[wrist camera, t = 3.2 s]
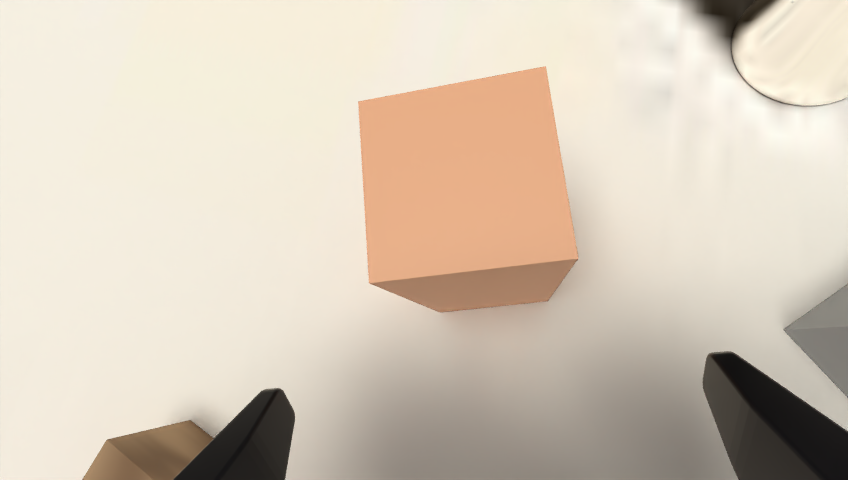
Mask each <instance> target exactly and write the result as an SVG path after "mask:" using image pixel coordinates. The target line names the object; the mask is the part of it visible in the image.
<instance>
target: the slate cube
mask: <svg viewBox="0 0 848 480" xmlns="http://www.w3.org/2000/svg"><path fill="white" fill-rule="evenodd" d="M784 331H785V332H786V333H787V334H788V335H789V336H790V337H791V338H792V339H793V340H794V341H795V343H796V344H797V345H798V346H799V347H800V348H801V349H802V350H803V351H804V352H805V353H806V354H807V355H808V356H809V357H810V358H811V359H812V360H813V361H814V363H815V364H816V365H817V366H818V367H819V368H820V369H821V370H822V371H823V372H824V373H825V374H826V375H827V376H828V377H829V378H830V379H831V380H832V382H833V383H834V384H835V385H836V386H837V387H838V388H839V389H840V390H841V391H842V392H843V393H844V394H845V395H846V396H847V397H848V284H847V285H845V286H844V287H843V288H841V289H840V290H838V291H837V292H836V293H834V294H833V295H831V296H830V297H829V298H827V299H826V300H824V301H823V302H822V303H820V304H819V305H817V306H816V307H815V308H813V309H812V310H810V311H809V312H808V313H806V314H805V315H803V316H802V317H801V318H799V319H798V320H796V321H795V322H794V323H792V324H791V325H789V326H788V327H787V328H785V329H784Z"/></svg>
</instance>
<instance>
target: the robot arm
mask: <svg viewBox="0 0 848 480" xmlns="http://www.w3.org/2000/svg"><path fill="white" fill-rule="evenodd" d="M703 389H704V393H705V395H706V398H707V401H708V403H709V406H710V409H711V411H712V414H713V417H714V419H715V422H716V424H717V427H718V430H719V432H720V435H721V438H722V440H723V443H724V446H725V448H726V451H727V454H728V456H729V459H730V461H731V464H732V466H733V469H734V471H735V473H736V475H737V477H738V479H739V480H848V431H846V430H845V429H844V428H842V427H841V426H839V425H838V424H836V423H835V422H833V421H832V420H831V419H829V418H828V417H826V416H825V415H823V414H822V413H820V412H819V411H818V410H816V409H815V408H813V407H812V406H810V405H809V404H807V403H806V402H805V401H803V400H802V399H800V398H799V397H797V396H796V395H794V394H793V393H792V392H790V391H789V390H787V389H786V388H784V387H783V386H782V385H780V384H779V383H777V382H776V381H774V380H773V379H771V378H770V377H769V376H767V375H766V374H764V373H763V372H761V371H760V370H758V369H757V368H756V367H754V366H753V365H751V364H750V363H748V362H747V361H745V360H744V359H743V358H741V357H740V356H738V355H737V354H735V353H733V352H729V351H726V352H714V353H710V354H708V356H707V358H706V364H705V370H704V376H703ZM294 422H295V414H294V410H293V408H292V406H291V404H290V402H289V401H288V399H287V397H286V395H285V393H284V391H283V390H281V389H280V388H274V389H265V390H263V391H261V392H260V393H259V394H258V395H257V396H256V397H255V398H254V399H253V400H252V401H251V402H250V403H249V404H248V405H247V406H246V407H245V408H244V409H243V410H242V411H241V412H240V413H239V414H238V415H237V416H236V417H235V418H234V419H233V420H232V421H231V422H230V423H229V424H228V425H227V426H226V427H225V428H224V429H223V430H222V431H221V432H220V433H219V434H218V435H217V436H216V437H215V438H214V439H213V440H212V441H211V442H210V443H209V444H208V445H207V446H206V447H205V448H204V449H203V450H202V451H201V452H200V453H199V454H198V455H197V456H196V457H195V458H194V459H193V460H192V461H191V462H190V463H189V464H188V465H187V466H186V467H185V468H184V469H183V470H182V471H181V472H180V473H179V474H178V475H177V476H176V477H175V478H174V479H173V480H285V476H286V470H287V464H288V458H289V452H290V446H291V440H292V434H293V428H294Z"/></svg>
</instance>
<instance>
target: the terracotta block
mask: <svg viewBox="0 0 848 480" xmlns="http://www.w3.org/2000/svg"><path fill="white" fill-rule="evenodd" d="M358 105H359V122H360V138H361V155H362V172H363V189H364V206H365V223H366V240H367V256H368V273H369V283H370V284H372V285H375V286H377V287H380V288H382V289H385V290H387V291H389V292H392V293H394V294H397V295H399V296H402V297H404V298H406V299H409V300H411V301H414V302H416V303H419V304H421V305H423V306H426V307H428V308H431V309H433V310H436V311H438V312H448V311H458V310H467V309H477V308H486V307H496V306H506V305H515V304H525V303H535V302H544V301H548V300H549V298H550V297H551V296H552V294H553V293H554V291H555V290H556V289H557V287H558V286H559V285H560V283H561V282H562V280H563V279H564V278H565V276H566V275H567V274H568V272H569V271H570V269H571V268H572V267H573V265H574V264H575V262H576V261H577V260H578V253H577V247H576V241H575V236H574V230H573V224H572V218H571V212H570V206H569V200H568V194H567V189H566V183H565V177H564V171H563V165H562V159H561V153H560V147H559V141H558V136H557V130H556V124H555V118H554V112H553V106H552V100H551V94H550V89H549V83H548V77H547V71H546V66H545V67H540V68H534V69H529V70H524V71H518V72H513V73H508V74H502V75H497V76H492V77H486V78H481V79H476V80H470V81H465V82H460V83H454V84H449V85H444V86H438V87H433V88H428V89H423V90H417V91H412V92H407V93H401V94H396V95H391V96H385V97H380V98H375V99H369V100H364V101H359V102H358Z"/></svg>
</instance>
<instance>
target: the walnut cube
mask: <svg viewBox="0 0 848 480" xmlns="http://www.w3.org/2000/svg"><path fill="white" fill-rule="evenodd" d="M213 439H214V438H212V437H211V436H210V435H209V434H207V433H206V432H205V431H203V430H202V429H201V428H200V427H198V426H197V425H196V424H195V423H193V422H192V421H191V420H189V421H184V422H180V423H176V424H172V425H167V426H163V427H159V428H155V429H150V430H146V431H142V432H138V433H133V434H129V435H125V436H121V437H116V438H112V439H108V440H106V442H105V444H104V445H103V447H102V448H101V450H100V452H99V453H98V455H97V457H96V458H95V460H94V462H93V463H92V465H91V466H90V468H89V470H88V471H87V473H86V475H85V476H84V478H83V480H173V479H174V478H175V477H176V476H177V475H178V474H179V473H180V472H181V471H182V470H183V469H184V468H185V467H186V466H187V465H188V464H189V463H190V462H191V461H192V460H193V459H194V458H195V457H196V456H197V455H198V454H199V453H200V452H201V451H202V450H203V449H204V448H205V447H206V446H207V445H208V444H209V443H210V442H211V441H212V440H213Z"/></svg>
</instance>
